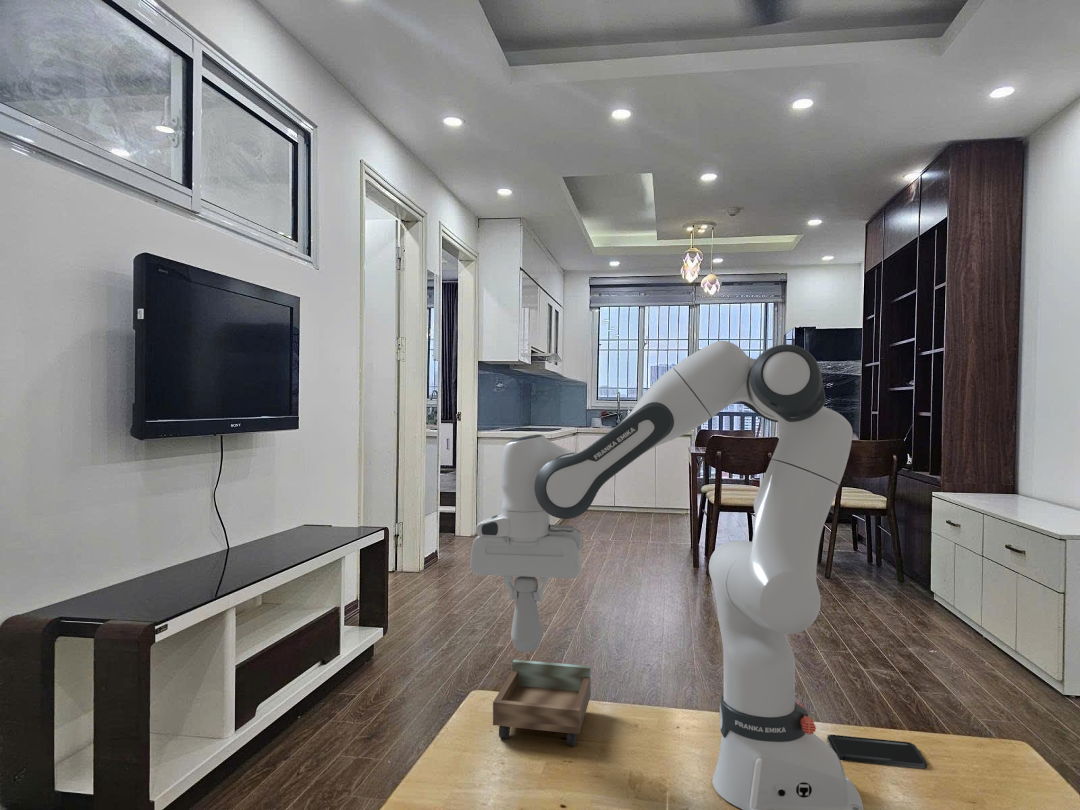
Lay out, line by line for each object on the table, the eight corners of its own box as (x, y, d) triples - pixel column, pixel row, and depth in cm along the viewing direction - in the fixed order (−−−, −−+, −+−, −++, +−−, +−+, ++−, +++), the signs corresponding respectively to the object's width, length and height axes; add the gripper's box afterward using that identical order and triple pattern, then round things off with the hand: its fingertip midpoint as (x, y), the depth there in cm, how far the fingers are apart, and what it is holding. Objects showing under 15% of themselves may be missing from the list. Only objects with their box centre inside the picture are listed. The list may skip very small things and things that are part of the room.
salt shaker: (527, 640, 126) (527, 571, 126) (549, 647, 122) (548, 576, 121) (504, 648, 121) (503, 577, 121) (526, 656, 117) (525, 583, 117)
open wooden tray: (590, 710, 135) (590, 666, 135) (579, 751, 119) (579, 700, 119) (513, 702, 138) (513, 659, 138) (492, 741, 123) (493, 692, 122)
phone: (826, 734, 125) (913, 742, 122) (826, 740, 125) (913, 748, 122) (835, 755, 117) (929, 765, 114) (835, 762, 117) (929, 772, 114)
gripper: (584, 522, 123) (585, 597, 123) (476, 519, 126) (477, 592, 126) (580, 529, 116) (580, 608, 116) (467, 526, 120) (468, 602, 120)
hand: (526, 600), depth 122 cm, fingers closed on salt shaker, 3 cm apart
